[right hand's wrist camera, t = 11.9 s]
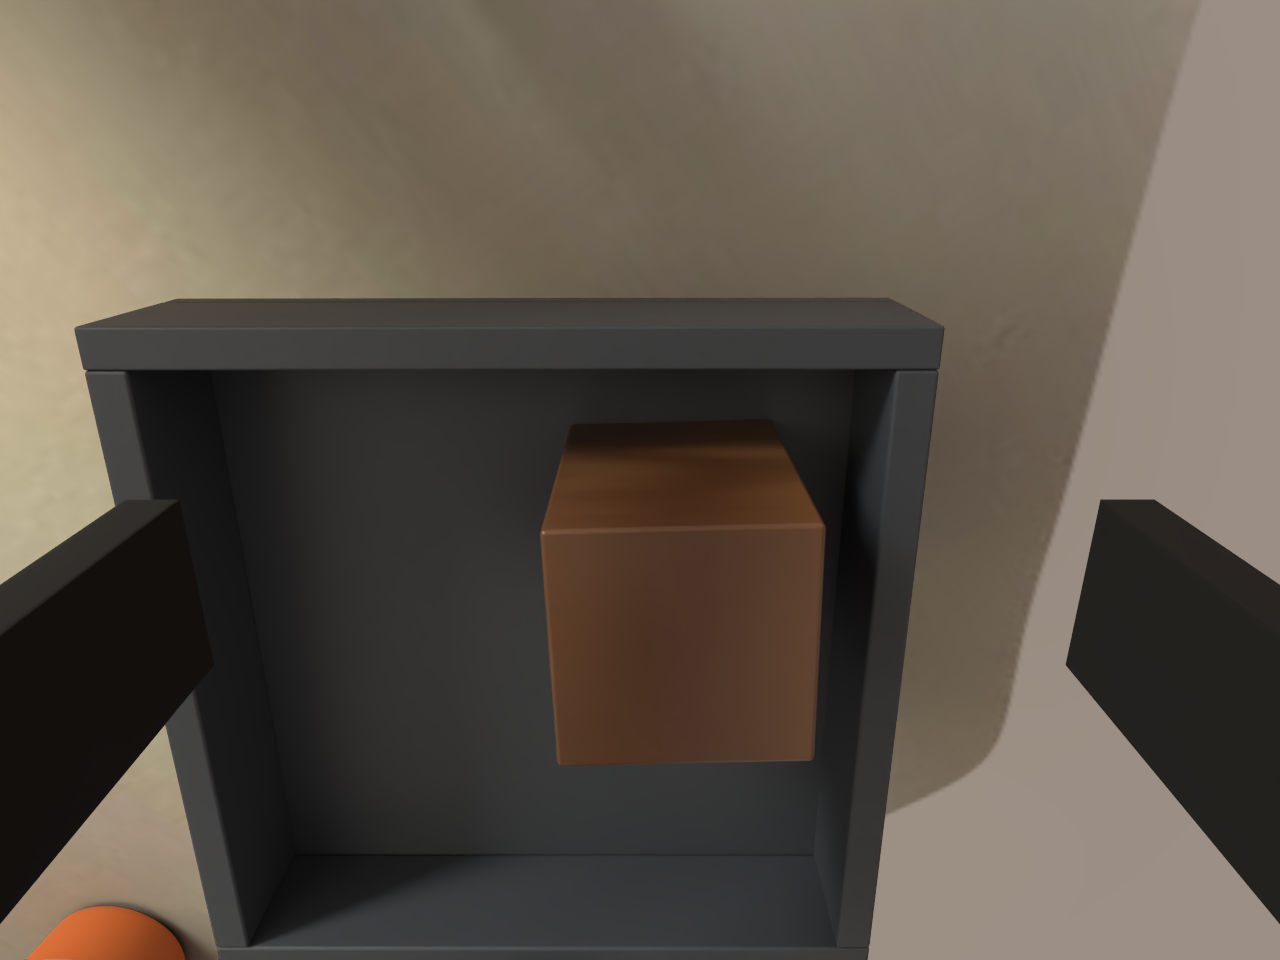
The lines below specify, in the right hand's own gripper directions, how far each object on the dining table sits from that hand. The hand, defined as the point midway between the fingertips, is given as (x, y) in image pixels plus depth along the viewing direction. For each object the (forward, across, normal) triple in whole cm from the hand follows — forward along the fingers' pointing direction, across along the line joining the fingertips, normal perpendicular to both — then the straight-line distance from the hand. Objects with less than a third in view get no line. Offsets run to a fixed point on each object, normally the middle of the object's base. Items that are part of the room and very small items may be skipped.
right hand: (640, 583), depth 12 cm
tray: (+8, -2, -10) cm, 12 cm away
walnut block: (+7, +1, -2) cm, 7 cm away
